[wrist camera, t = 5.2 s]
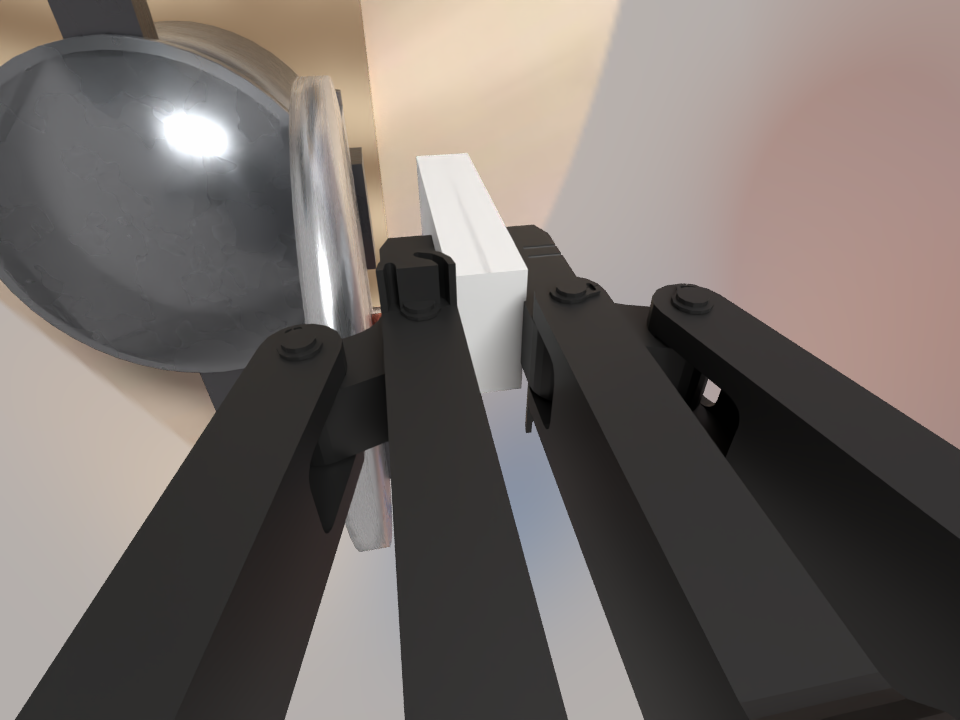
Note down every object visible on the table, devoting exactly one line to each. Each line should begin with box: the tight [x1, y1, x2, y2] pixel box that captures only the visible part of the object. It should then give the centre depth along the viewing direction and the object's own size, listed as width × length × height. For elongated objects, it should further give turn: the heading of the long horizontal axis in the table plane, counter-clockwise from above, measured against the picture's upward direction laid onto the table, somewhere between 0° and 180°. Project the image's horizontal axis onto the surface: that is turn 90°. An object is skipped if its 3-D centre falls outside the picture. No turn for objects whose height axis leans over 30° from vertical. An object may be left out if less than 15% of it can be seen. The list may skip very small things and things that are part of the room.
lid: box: [289, 75, 392, 552], centre depth 18 cm, size 14×15×3 cm
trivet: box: [0, 0, 388, 307], centre depth 30 cm, size 20×18×1 cm
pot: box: [0, 0, 376, 411], centre depth 27 cm, size 24×16×9 cm, turn 0°
